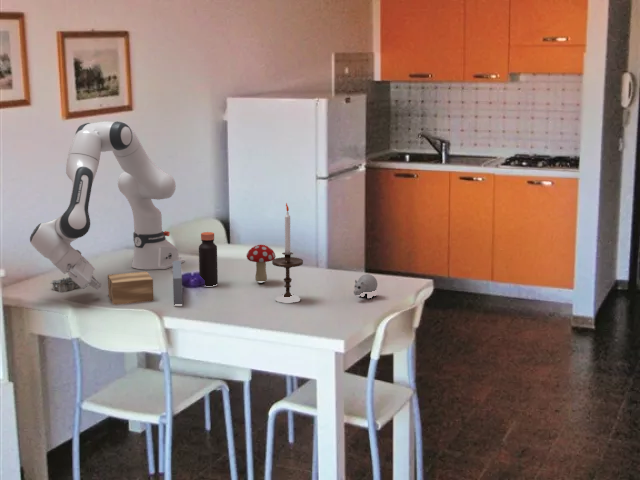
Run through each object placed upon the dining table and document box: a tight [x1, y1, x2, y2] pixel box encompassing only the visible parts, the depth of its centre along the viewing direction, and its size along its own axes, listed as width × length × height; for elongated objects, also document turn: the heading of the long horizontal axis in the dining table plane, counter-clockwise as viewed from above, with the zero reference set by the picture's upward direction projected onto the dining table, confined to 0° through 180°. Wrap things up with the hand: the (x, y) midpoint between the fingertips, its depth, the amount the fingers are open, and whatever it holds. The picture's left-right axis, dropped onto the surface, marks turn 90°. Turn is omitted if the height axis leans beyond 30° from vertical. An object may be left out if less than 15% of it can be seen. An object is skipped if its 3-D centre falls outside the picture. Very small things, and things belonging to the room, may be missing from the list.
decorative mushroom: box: [245, 244, 277, 282], centre depth 338 cm, size 11×11×15 cm
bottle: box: [198, 231, 219, 286], centre depth 334 cm, size 7×7×20 cm
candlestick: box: [271, 202, 304, 297], centre depth 313 cm, size 11×11×35 cm
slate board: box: [172, 261, 184, 306], centre depth 320 cm, size 26×3×10 cm, turn 9°
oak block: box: [107, 271, 155, 305], centre depth 318 cm, size 12×14×8 cm
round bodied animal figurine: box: [353, 273, 378, 296], centre depth 319 cm, size 7×12×8 cm, turn 143°
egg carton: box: [50, 276, 82, 293], centre depth 331 cm, size 11×8×4 cm
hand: (99, 287), depth 316 cm, fingers closed
